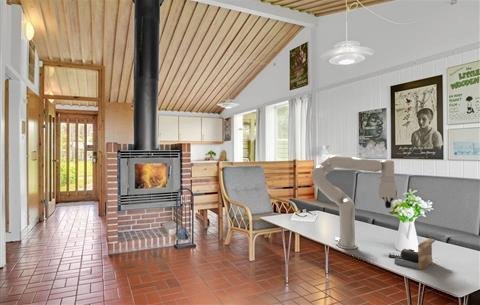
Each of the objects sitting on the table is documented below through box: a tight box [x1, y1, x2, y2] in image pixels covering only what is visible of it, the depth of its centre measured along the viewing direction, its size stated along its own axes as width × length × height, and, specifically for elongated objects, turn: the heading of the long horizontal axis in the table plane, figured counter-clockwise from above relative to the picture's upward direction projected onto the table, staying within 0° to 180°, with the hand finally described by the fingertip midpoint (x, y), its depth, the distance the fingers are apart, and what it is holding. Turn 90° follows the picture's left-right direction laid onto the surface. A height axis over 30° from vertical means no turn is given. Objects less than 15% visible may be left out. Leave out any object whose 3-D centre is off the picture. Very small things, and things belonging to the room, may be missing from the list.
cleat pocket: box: [394, 257, 419, 270], centre depth 172 cm, size 12×18×3 cm, turn 133°
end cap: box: [400, 248, 418, 263], centre depth 172 cm, size 10×7×7 cm
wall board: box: [417, 238, 436, 271], centre depth 166 cm, size 3×18×13 cm, turn 133°
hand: (388, 207), depth 195 cm, fingers closed
